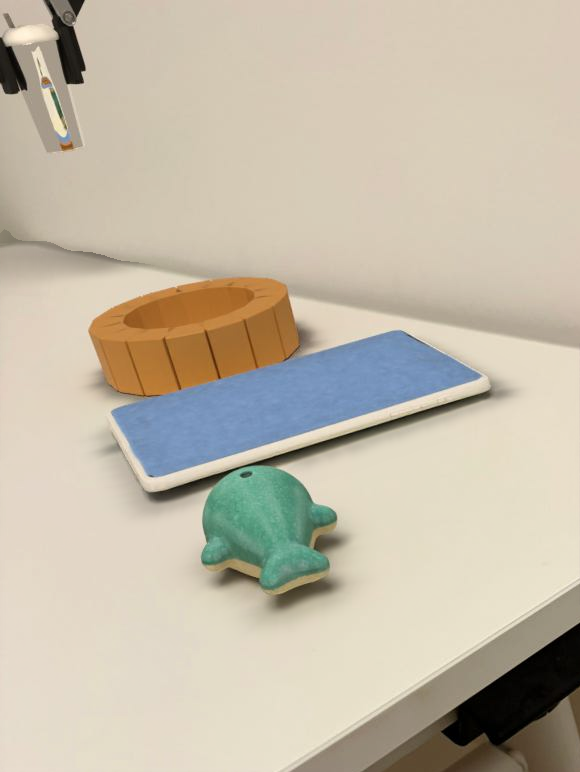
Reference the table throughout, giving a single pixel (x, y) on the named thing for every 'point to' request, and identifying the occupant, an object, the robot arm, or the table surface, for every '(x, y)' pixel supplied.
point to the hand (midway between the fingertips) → (43, 85)
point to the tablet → (286, 407)
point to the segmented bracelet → (194, 334)
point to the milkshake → (44, 84)
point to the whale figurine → (265, 528)
